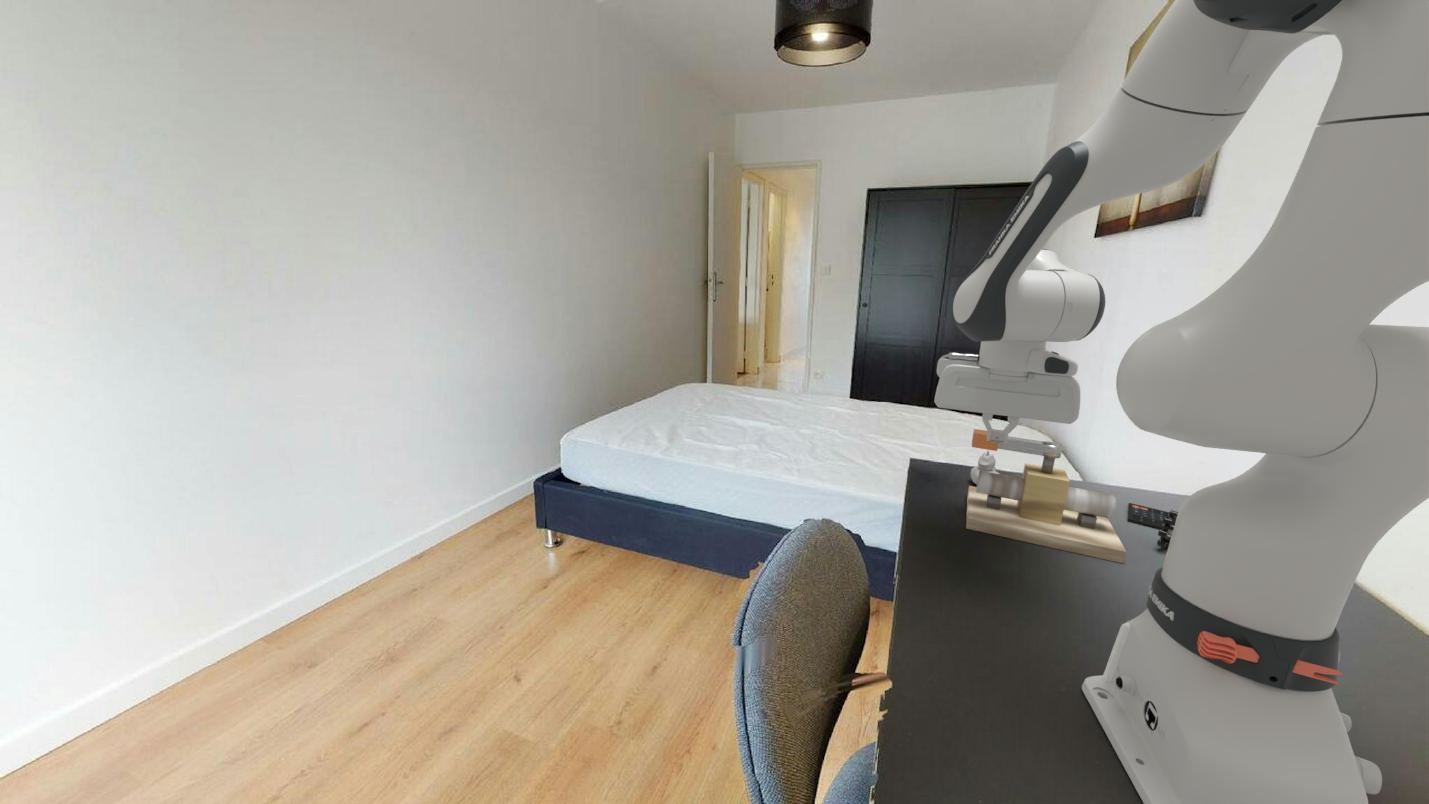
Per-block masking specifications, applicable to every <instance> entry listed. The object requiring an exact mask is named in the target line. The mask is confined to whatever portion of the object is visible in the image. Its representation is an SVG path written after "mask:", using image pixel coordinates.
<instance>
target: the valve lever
mask: <svg viewBox="0 0 1429 804" xmlns="http://www.w3.org/2000/svg"><path fill="white" fill-rule="evenodd" d="M987 431H988V430H986V429H984V430H983V429H978V428H974V429H973V433H972V439H971V447H972V448H975V449H982V450H987V451H988V450H989V451H994V452H995V451H996V452H998V450H1003V451H1010V452H1015V453H1021V454H1022V453H1023V454H1029V455H1035V456H1039V457H1044V456H1045V457H1048V458H1055V459H1061V458H1062V457H1061V456H1062V453H1063V452H1062V451H1063V445H1062V444H1060V443H1058V442H1054V441H1048V440H1047V441H1042V440H1035V439H1028V438H1022V437H1018V436H1017V437H1016V436H1009V435H1008V439H1007V443H999V442H993V441H986V438H987Z"/></svg>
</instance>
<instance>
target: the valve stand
mask: <svg viewBox="0 0 1429 804" xmlns="http://www.w3.org/2000/svg"><path fill="white" fill-rule="evenodd" d="M1055 460H1056V458H1048V457H1045V456H1043V461H1042V464H1041V465H1037V464H1032V463H1024V466H1023V471H1022V472H1023V473H1022V477H1017V476H1011V475H1008V474H1007V475H1005V474H1000V473H999V474H996V473H990V472H984V471H979V475H978V481H977V484H976V486H972V485H968V490H967V496H966V498H967V499H966V500H967V501H966V519H965V520H966V521H965V523H966V524H965V528H966V530H970V531H975V532H981V533H985V534H989V535H994V536H999V537H1002V538H1007V539H1011V540H1016V541H1019V542H1020V541H1021V542H1025V543H1030V544H1034V545H1037V546H1038V545H1039V546H1042V547H1043V546H1044V547H1047V548H1052V549H1056V550H1061V551H1065V552H1070V553H1074V554H1079V555H1084V556H1088V557H1093V558H1096V559H1103V560H1107V561H1110V562H1114V563H1119V564H1124V563H1125V561H1126V557H1127V550H1126V549H1125V547H1124V544H1123V542H1122V541H1121V539H1120V537H1119V536H1118V533H1116V530H1115V529H1114V527H1113V524H1111V522H1110V520H1112V519H1113V518H1114V516H1115V514H1116V509H1117V497H1116V495H1115V493H1114V494H1112V493H1108V492H1101V491H1096V490H1090V489H1085V488H1078V487H1073V486H1070V483H1071V481H1070V479H1069V478H1070V477H1069V476H1068V474H1067V472H1066V470H1065V469H1064V468H1063V469H1062V468H1057V467H1056V468H1055V467H1054V466H1055ZM1109 519H1110V520H1109Z"/></svg>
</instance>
